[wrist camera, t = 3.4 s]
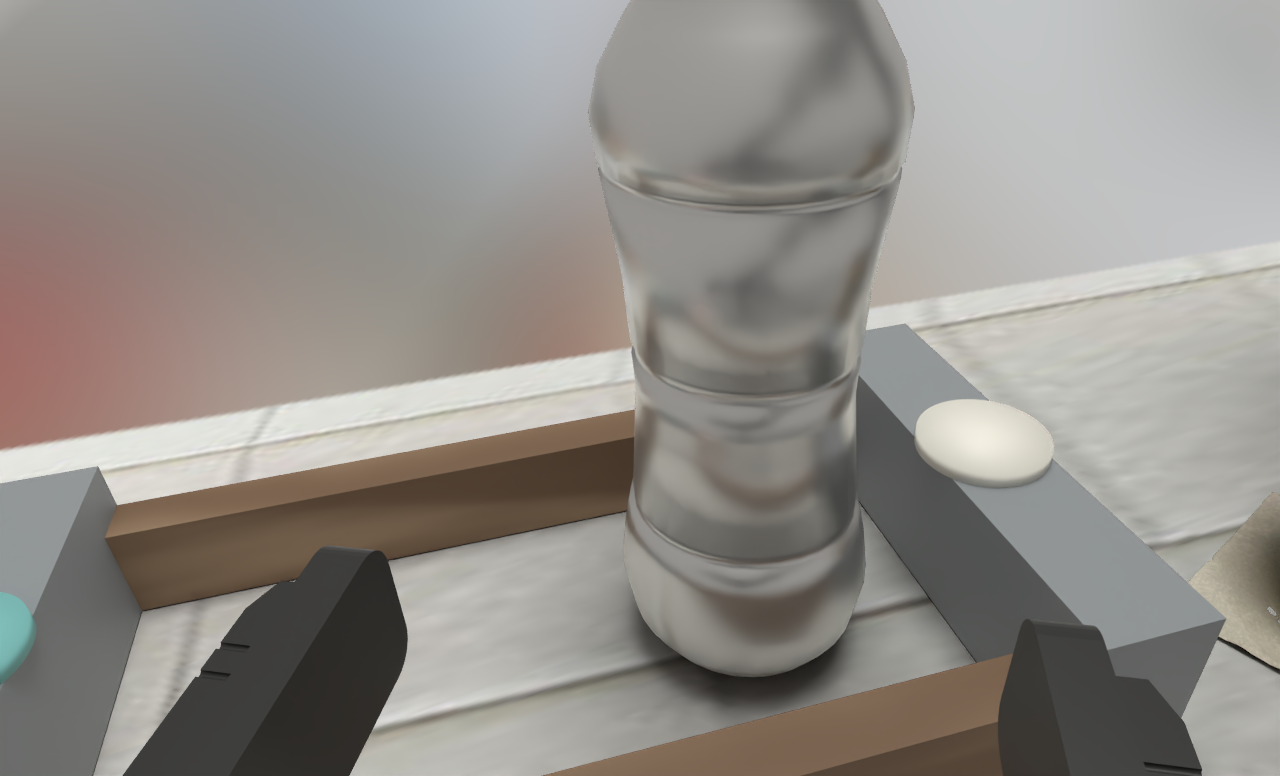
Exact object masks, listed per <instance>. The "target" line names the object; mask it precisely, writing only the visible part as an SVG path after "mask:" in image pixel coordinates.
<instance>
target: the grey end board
mask: <svg viewBox="0 0 1280 776" xmlns="http://www.w3.org/2000/svg"><path fill="white" fill-rule="evenodd" d="M116 507H117V504H116V502H115V500H114V498H113V496H112V494H111V492H110V490H109V488H108V486H107V484H106V482H105V480H104V478H103V476H102V474H101V472H100V470H99V468H98V466H97V467H92V468H86V469H80V470H75V471H69V472H63V473H58V474H52V475H46V476H41V477H35V478H29V479H24V480H18V481H13V482H7V483H1V484H0V776H92V775H93V772H94V769H95V765H96V762H97V759H98V755H99V752H100V749H101V745H102V742H103V739H104V735H105V732H106V729H107V725H108V722H109V719H110V715H111V712H112V708H113V705H114V702H115V698H116V695H117V692H118V688H119V685H120V682H121V678H122V675H123V672H124V668H125V665H126V662H127V658H128V655H129V652H130V648H131V645H132V642H133V638H134V635H135V632H136V628H137V625H138V622H139V618H140V615H141V612H142V610H141V608H140V606H139V604H138V602H137V601H136V599H135V597H134V595H133V593H132V591H131V589H130V587H129V585H128V583H127V581H126V579H125V577H124V575H123V573H122V571H121V569H120V567H119V565H118V563H117V561H116V559H115V558H114V556H113V554H112V552H111V550H110V548H109V546H108V544H107V542H106V540H105V536H106V533H107V530H108V528H109V525H110V523H111V520H112V517H113V515H114V512H115V509H116Z"/></svg>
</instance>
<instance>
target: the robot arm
mask: <svg viewBox="0 0 1280 776" xmlns="http://www.w3.org/2000/svg"><path fill="white" fill-rule="evenodd" d="M407 641H408V635H407V627H406V623H405V620H404V616H403V613H402V609H401V605H400V602H399V598H398V595H397V591H396V588H395V584H394V581H393V577H392V574H391V570H390V566H389V563H388V560H387V557H386V556H385V554H384V553H383V552H381V551H379V550H369V549H360V548H350V547H340V546H330V545H327V546H324V547H322V548H320V549H319V550H318V551H317V552H316V553H315V554H314V556H313V557H312V558H311V560H310V561H309V563H308V564H307V566H306V567H305V568H304V570H303V571H302V573H301V574H300V576H299V577H298V578H297V580H296V581H295V582H288V581H280V582H279V583H278V584H277V585H275V586H274V587H273V588H271V589H270V590H269V591H268V592H266V593H265V594H264V595H262V596H261V597H260V598H259V599H257V600H256V601H255V602H253V603H252V604H251V605H250V606H248V607H247V608H246V609H245V610H244V611H243V613H242V614H241V616H240V617H239V618H238V620H237V621H236V622H235V624H234V625H233V626H232V628H231V629H230V630H229V632H228V633H227V635H226V636H225V637H224V639H223V640H222V641H221V647H220V649H215V651H214V652H213V654H212V655H211V656H210V658H209V659H208V660H207V662H206V663H205V664H204V666H203V667H202V668H201V674H200V676H199V677H195V678H194V679H193V681H192V682H191V683H190V685H189V686H188V688H187V689H186V690H185V692H184V693H183V694H182V696H181V697H180V698H179V700H178V701H177V702H176V704H175V705H174V707H173V708H172V709H171V711H170V712H169V713H168V715H167V716H166V717H165V719H164V720H163V721H162V723H161V724H160V726H159V727H158V728H157V730H156V731H155V732H154V734H153V735H152V736H151V738H150V739H149V740H148V742H147V743H146V745H145V746H144V747H143V749H142V750H141V751H140V753H139V754H138V755H137V757H136V758H135V759H134V761H133V762H132V764H131V765H130V766H129V768H128V769H127V770H126V772H125V773H124V774H123V776H349V775H350V773H351V771H352V769H353V767H354V765H355V763H356V761H357V759H358V757H359V755H360V753H361V751H362V749H363V747H364V745H365V743H366V741H367V739H368V737H369V735H370V733H371V731H372V729H373V727H374V725H375V723H376V721H377V719H378V717H379V715H380V713H381V711H382V709H383V707H384V705H385V703H386V701H387V699H388V697H389V695H390V693H391V691H392V689H393V687H394V685H395V684H396V682H397V680H398V678H399V675H400V673H401V671H402V668H403V665H404V661H405V657H406V651H407ZM998 744H999V753H1000V760H1001V766H1002V771H1003V776H1202V774H1201V771H1202V768H1201V765H1200V763H1199V760H1198V757H1197V755H1196V752H1195V750H1194V747H1193V744H1192V742H1191V739H1190V736H1189V734H1188V731H1187V728H1186V726H1185V723H1184V721H1183V720H1182V719H1181V718H1180V717H1179V715H1178V714H1177V713H1176V712H1175V711H1174V710H1173V708H1172V707H1171V706H1170V705H1169V704H1168V702H1167V701H1166V700H1165V699H1164V698H1163V696H1162V695H1161V694H1160V693H1159V692H1158V690H1157V689H1156V688H1155V687H1154V686H1153V685H1152V683H1151V682H1150V681H1149V680H1148V679H1139V678H1130V677H1121V676H1115V672H1114V669H1113V666H1112V663H1111V660H1110V657H1109V654H1108V651H1107V648H1106V644H1105V641H1104V639H1103V636H1102V634H1101V632H1100V630H1099V629H1098V628H1097V627H1096V626H1093V625H1084V624H1074V623H1064V622H1054V621H1044V620H1035V619H1025V620H1024V621H1023V623H1022V625H1021V628H1020V631H1019V634H1018V638H1017V642H1016V645H1015V649H1014V652H1013V656H1012V660H1011V663H1010V667H1009V671H1008V674H1007V678H1006V681H1005V685H1004V689H1003V692H1002V696H1001V700H1000V705H999V714H998Z"/></svg>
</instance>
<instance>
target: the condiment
mask: <svg viewBox="0 0 1280 776" xmlns="http://www.w3.org/2000/svg"><path fill="white" fill-rule="evenodd" d="M1188 584H1190V585H1191V586H1192V587H1193V588H1194V589H1195V590H1196V591H1197V592H1198V593H1199V594H1200V595H1202V596H1203V597H1204V598H1205V599H1206V600H1207V601H1208V602H1209V603H1210V604H1211V605H1212V606H1214V607H1215V608H1216V609H1217V610H1218V611H1219V612H1220V613H1221V614H1222V615H1223V616H1224V617H1226V618H1227V619H1226V621H1225V623H1224V625H1223V627H1222V630H1221V632H1220V634H1219V636H1218V637H1221V638H1222V639H1224V640H1226V641H1229V642H1232V643H1234V644H1237V645H1238V646H1240V647H1242V648H1244V649H1245V650H1247V651H1248V652H1249V653H1251V654H1253V655H1254V656H1256V657H1258V658H1260V659H1261V660H1263V661H1265V662H1266V663H1268V664H1270V665H1272V666H1274V667H1277V668H1279V669H1280V625H1279V622H1278V621H1277V620H1279V619H1280V495H1279V494H1276V493H1274V492H1272V493H1271V494H1270V495H1269V496H1268V498H1267V499H1266V500H1265V501H1264V502H1263V503H1262V505H1261V506H1260V507H1259V508H1258V509H1257V510H1256V511H1255V512H1254V513H1253V514H1252V515H1251V517H1250V518H1249V519H1248V520H1247V521H1246V522H1245V523H1244V524H1243V525H1242V526H1241V527H1240V528H1239V529H1238V530H1237V531H1236V533H1235V534H1234V535H1233V536H1232V537H1231V538H1230V540H1228V541H1227V542H1226V543H1225V544H1224V545H1223V546H1222V547H1221V548H1220V550H1218V552H1217V553H1216V554H1215V555H1214V556H1213V558H1212V560H1210V561H1208V562H1207V563H1206V564H1205V565H1204V566H1203V567H1202V568H1201V569H1200V570H1199V571H1198V572H1197V573H1196V574H1195V575H1194V576H1193V577H1192V579H1191V580H1190V581H1189V582H1188ZM1268 607H1271V608H1272V609H1273V610H1274V611H1275V612H1276V614H1277V616H1273V615H1272V614H1270V612H1269V611H1268V610H1267V608H1268Z"/></svg>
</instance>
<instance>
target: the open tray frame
mask: <svg viewBox="0 0 1280 776" xmlns="http://www.w3.org/2000/svg"><path fill="white" fill-rule="evenodd" d="M634 430H635V410H630V411H625V412H619V413H614V414H608V415H603V416H598V417H592V418H587V419H581V420H576V421H571V422H565V423H560V424H554V425H549V426H544V427H538V428H533V429H527V430H522V431H517V432H511V433H506V434H500V435H495V436H490V437H484V438H479V439H473V440H468V441H463V442H457V443H452V444H446V445H441V446H436V447H430V448H425V449H419V450H414V451H409V452H403V453H398V454H392V455H387V456H382V457H376V458H371V459H365V460H360V461H355V462H349V463H344V464H338V465H333V466H328V467H322V468H317V469H311V470H306V471H301V472H295V473H290V474H284V475H279V476H274V477H268V478H263V479H257V480H252V481H247V482H241V483H236V484H230V485H225V486H220V487H214V488H209V489H203V490H198V491H193V492H187V493H182V494H176V495H171V496H166V497H160V498H155V499H149V500H144V501H139V502H133V503H128V504H122V505H117V507H116V509H115V512H114V515H113V517H112V520H111V523H110V525H109V528H108V530H107V533H106V536H105V540H106V542H107V544H108V546H109V548H110V550H111V552H112V554H113V556H114V558H115V559H116V561H117V563H118V565H119V567H120V569H121V571H122V573H123V575H124V577H125V579H126V581H127V583H128V585H129V587H130V589H131V591H132V593H133V595H134V597H135V599H136V601H137V602H138V604H139V606H140V608H141V610H142V611H143V610H148V609H153V608H157V607H162V606H167V605H172V604H177V603H182V602H186V601H191V600H196V599H201V598H206V597H211V596H215V595H220V594H225V593H230V592H235V591H240V590H244V589H249V588H254V587H259V586H264V585H269V584H274V583H278V582H280V581H288V580H293V579H297V578H298V577H299V576H300V574H301V573H302V571H303V570H304V568H305V567H306V566H307V564H308V563H309V561H310V560H311V558H312V557H313V556H314V554H315V553H316V552H317V551H318V550H319V549H320V548H322V547H324V546H327V545H330V546H340V547H350V548H360V549H369V550H379V551H381V552H383V553H384V554H385V556H386V557H387V560H390V559H394V558H399V557H404V556H409V555H414V554H419V553H423V552H428V551H433V550H438V549H443V548H448V547H452V546H457V545H462V544H467V543H472V542H477V541H481V540H486V539H491V538H496V537H501V536H506V535H510V534H515V533H520V532H525V531H530V530H535V529H539V528H544V527H549V526H554V525H559V524H564V523H569V522H573V521H578V520H583V519H588V518H593V517H598V516H602V515H607V514H612V513H617V512H622V511H627V506H628V499H629V494H630V489H631V484H632V480H633V467H634ZM1012 656H1013V654H1009V655H1005V656H1001V657H997V658H993V659H989V660H986V661H982V662H978V663H974V664H970V665H966V666H963V667H959V668H955V669H951V670H947V671H943V672H939V673H936V674H932V675H928V676H924V677H920V678H916V679H913V680H909V681H905V682H901V683H897V684H893V685H889V686H886V687H882V688H878V689H874V690H870V691H866V692H862V693H859V694H855V695H851V696H847V697H843V698H839V699H836V700H832V701H828V702H824V703H820V704H816V705H812V706H809V707H805V708H801V709H797V710H793V711H789V712H785V713H782V714H778V715H774V716H770V717H766V718H762V719H759V720H755V721H751V722H747V723H743V724H739V725H735V726H732V727H728V728H724V729H720V730H716V731H712V732H708V733H705V734H701V735H697V736H693V737H689V738H685V739H682V740H678V741H674V742H670V743H666V744H662V745H658V746H655V747H651V748H647V749H643V750H639V751H635V752H632V753H628V754H624V755H620V756H616V757H612V758H608V759H605V760H601V761H597V762H593V763H589V764H585V765H581V766H578V767H574V768H570V769H566V770H562V771H558V772H555V773H551V774H547V775H543V776H1003V771H1002V766H1001V760H1000V753H999V744H998V714H999V705H1000V700H1001V696H1002V692H1003V689H1004V685H1005V681H1006V678H1007V674H1008V671H1009V667H1010V663H1011V660H1012Z"/></svg>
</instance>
